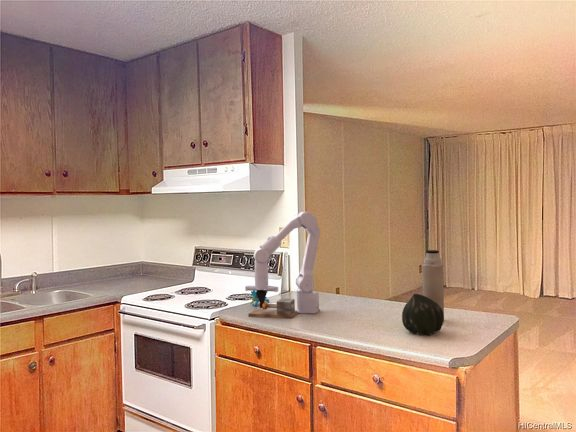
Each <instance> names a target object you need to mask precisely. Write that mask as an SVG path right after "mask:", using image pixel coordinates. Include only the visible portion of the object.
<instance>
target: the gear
mask: <svg viewBox="0 0 576 432" xmlns="http://www.w3.org/2000/svg"><path fill="white" fill-rule="evenodd" d="M256 292H257V291H251V292H250V293H251V294H250V295H251V298H252V299H251V301H250V305H251V304H252V305H253V306H254V307H257V305H258V303H260V301H259V299H258V297H257V295H256ZM264 301H267V303H271V302H270V299H268V297H267V295H266V296H265V299H264ZM254 302H255V303H254ZM253 303H254V304H253Z"/></svg>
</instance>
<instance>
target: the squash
mask: <svg viewBox="0 0 576 432" xmlns="http://www.w3.org/2000/svg"><path fill="white" fill-rule="evenodd" d="M401 313H402V314H401V320H402V324H403V327H404V328H405V329H406V330H407V331H408V332H409V333H412V334H418V335H420V336H424V335H427V336H431V335H434V334H435V333H436V332H437V333H438V332H439V331H440V330H441V329H442V327H443V324H444V322H445V313H444V314H443V311H442V308H441V307H440V306H439V305H438V304H437V303H436V302H434V301H433V300H431V299H430V298H428V297H425V296H423V294H419V293H413V295H412V296H411V297H410V299H408V301H407V303H406V304H405V305H404V307H403V309H402V312H401Z"/></svg>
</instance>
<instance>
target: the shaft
mask: <svg viewBox="0 0 576 432" xmlns="http://www.w3.org/2000/svg"><path fill="white" fill-rule="evenodd" d="M293 307H294V305H293V304H292V309H293ZM261 309H263V310H266V309H277V302H276V303H274V302H273V303H272V302H270V303H267V301H263V304H262V308H261Z"/></svg>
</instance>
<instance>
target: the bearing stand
mask: <svg viewBox="0 0 576 432" xmlns="http://www.w3.org/2000/svg"><path fill="white" fill-rule="evenodd" d="M295 301H296V299H295V298H285V297H284V298H283V297H282V298H280V299H279V300H277V301H276V303H277V308H276V309H273V308H267V309H266V310H263V308H255V309H253V310H251V311H249V313H247V314H248V317H250V316H251V318H252V317H254V318H255V317H256V318H272V319H274V318H275V319H276V318H277V319H294V317H295V316H297V314H299V313H298V311H297V309H296V307H295V305H296V304H295V303H296V302H295ZM292 304H293V305H294V307H293V309H292ZM295 309H296V310H295Z"/></svg>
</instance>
